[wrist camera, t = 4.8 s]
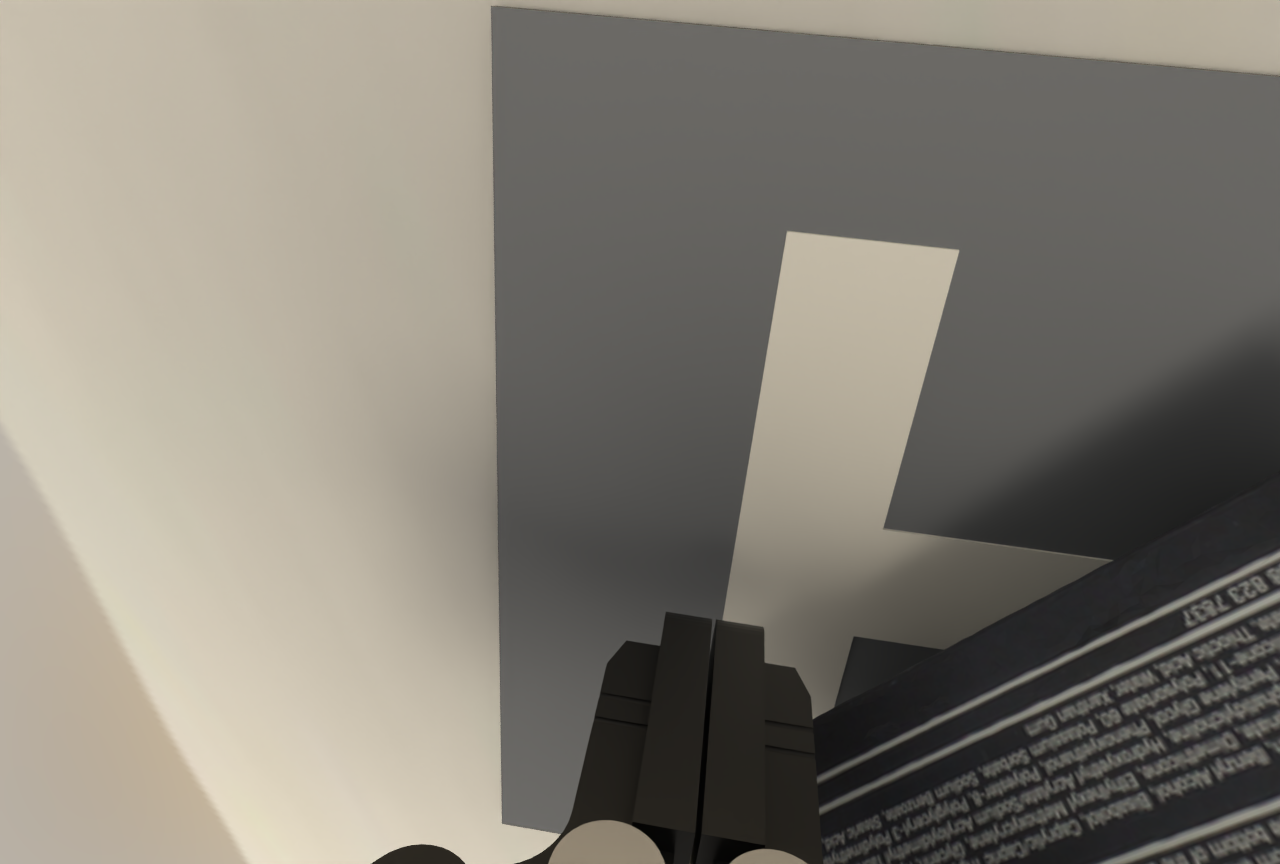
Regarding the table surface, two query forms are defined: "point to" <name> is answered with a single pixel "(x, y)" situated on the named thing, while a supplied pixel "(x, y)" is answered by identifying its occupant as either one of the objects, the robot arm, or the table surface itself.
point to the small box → (1083, 719)
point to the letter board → (851, 343)
